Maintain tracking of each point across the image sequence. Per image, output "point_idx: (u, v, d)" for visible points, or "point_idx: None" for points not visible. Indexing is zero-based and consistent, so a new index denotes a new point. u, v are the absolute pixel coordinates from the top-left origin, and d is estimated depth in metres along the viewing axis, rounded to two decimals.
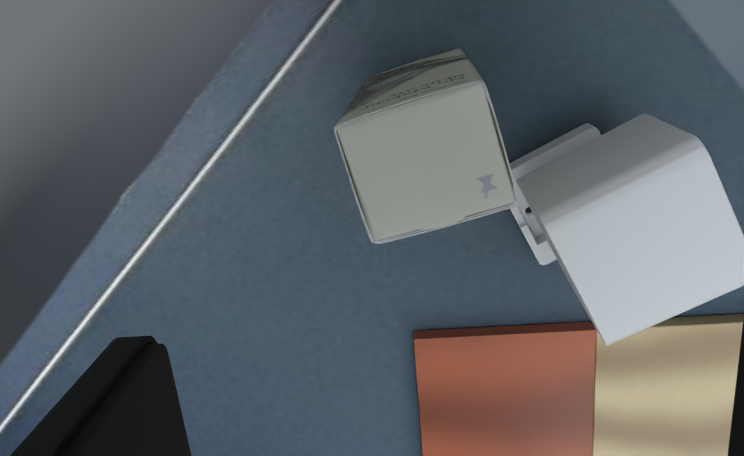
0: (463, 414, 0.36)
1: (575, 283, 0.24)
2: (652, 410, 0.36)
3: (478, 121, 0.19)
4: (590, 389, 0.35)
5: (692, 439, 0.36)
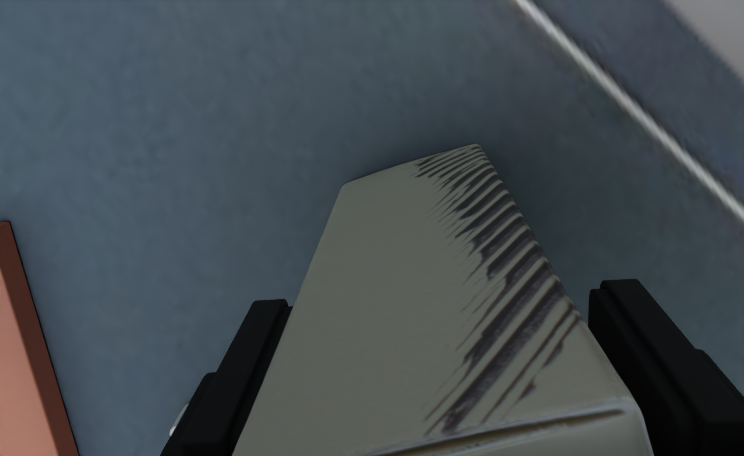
0: None
1: None
2: None
3: None
4: None
5: None
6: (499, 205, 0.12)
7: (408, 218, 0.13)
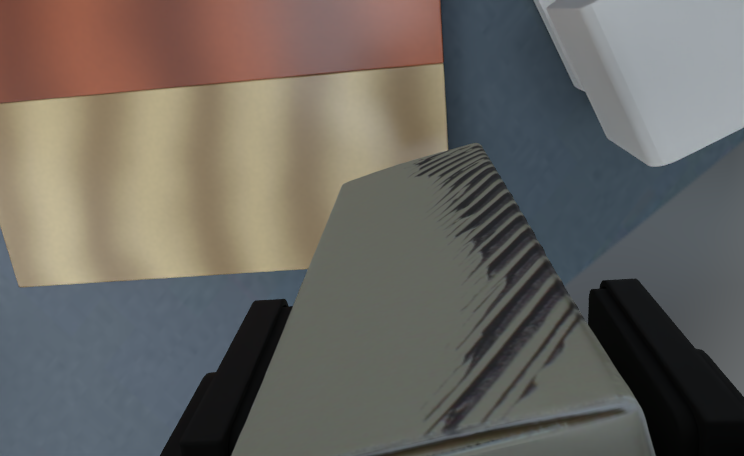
0: None
1: None
2: (337, 141, 0.31)
3: None
4: (362, 65, 0.29)
5: (302, 190, 0.32)
6: (500, 205, 0.12)
7: (408, 217, 0.12)
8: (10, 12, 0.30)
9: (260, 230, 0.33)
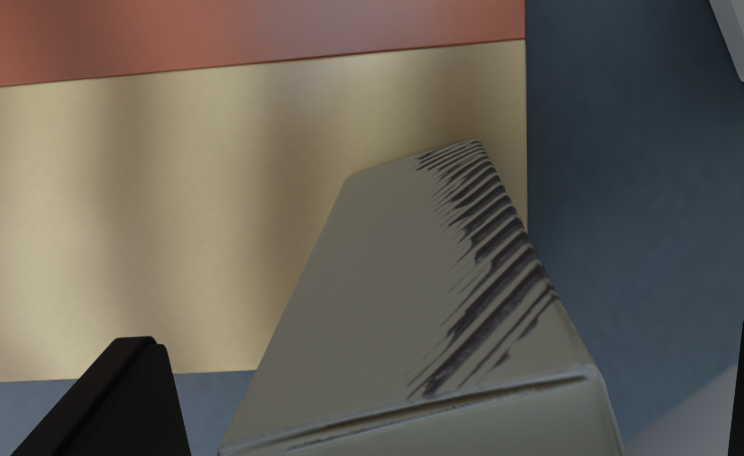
0: None
1: None
2: (344, 169, 0.19)
3: None
4: (387, 43, 0.17)
5: (285, 247, 0.20)
6: (492, 197, 0.12)
7: (405, 208, 0.13)
8: None
9: (220, 309, 0.20)
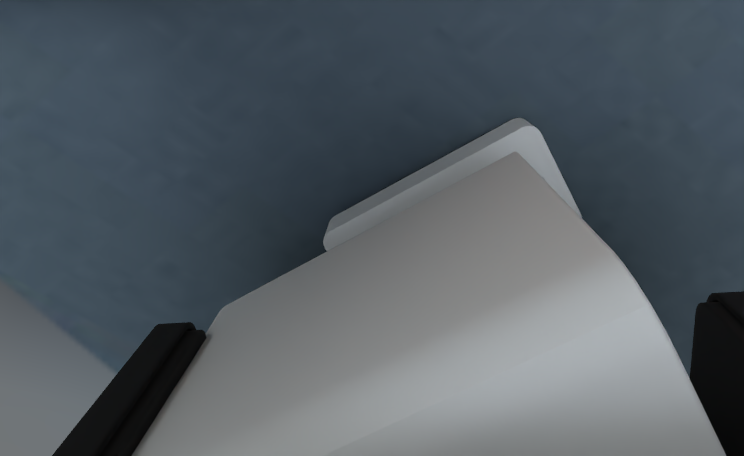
0: None
1: None
2: None
3: None
4: None
5: None
6: None
7: None
8: None
9: None
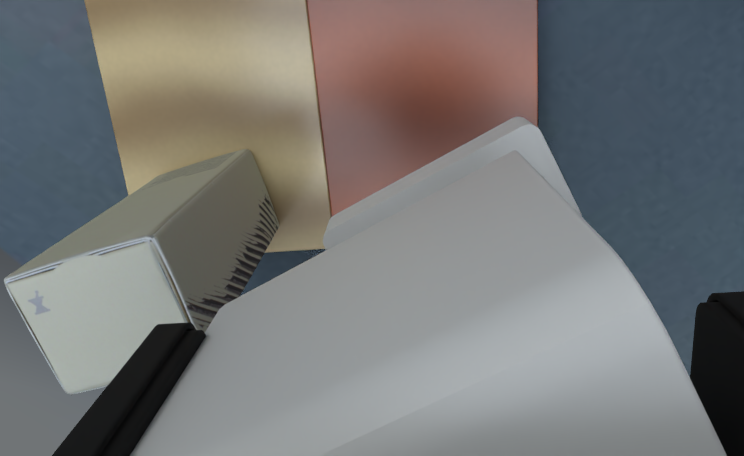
0: None
1: None
2: (255, 147, 0.30)
3: (61, 362, 0.19)
4: (331, 174, 0.30)
5: (199, 107, 0.29)
6: (250, 268, 0.25)
7: (240, 222, 0.25)
8: None
9: (147, 57, 0.29)
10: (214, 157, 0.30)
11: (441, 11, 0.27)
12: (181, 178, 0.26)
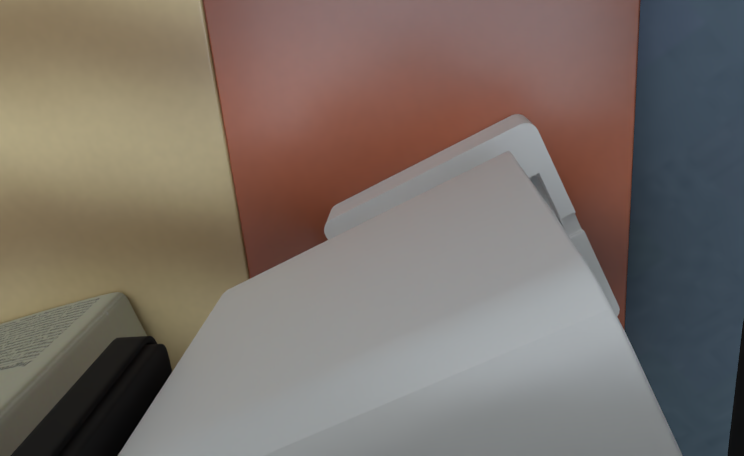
0: None
1: None
2: (134, 289, 0.17)
3: None
4: None
5: (32, 223, 0.17)
6: None
7: None
8: None
9: None
10: (63, 306, 0.17)
11: (458, 60, 0.15)
12: None
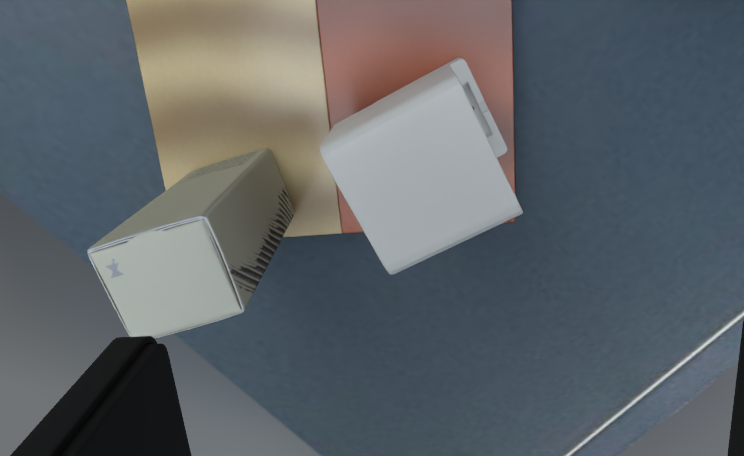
0: None
1: (494, 155, 0.24)
2: (274, 147, 0.35)
3: (130, 316, 0.24)
4: None
5: (226, 113, 0.34)
6: (273, 247, 0.30)
7: (264, 209, 0.30)
8: None
9: (183, 71, 0.34)
10: None
11: (431, 32, 0.32)
12: (215, 173, 0.31)
